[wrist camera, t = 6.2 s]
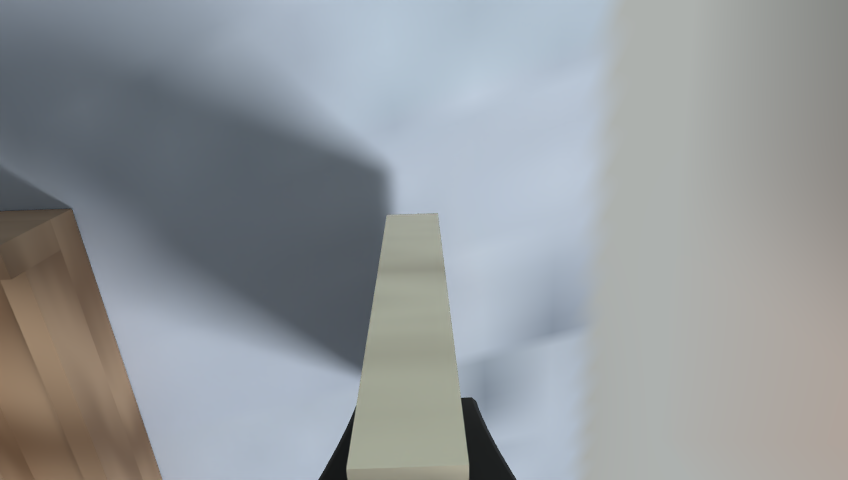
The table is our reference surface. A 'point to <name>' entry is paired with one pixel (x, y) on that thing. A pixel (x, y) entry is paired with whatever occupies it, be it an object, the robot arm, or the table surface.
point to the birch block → (409, 365)
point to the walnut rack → (61, 362)
